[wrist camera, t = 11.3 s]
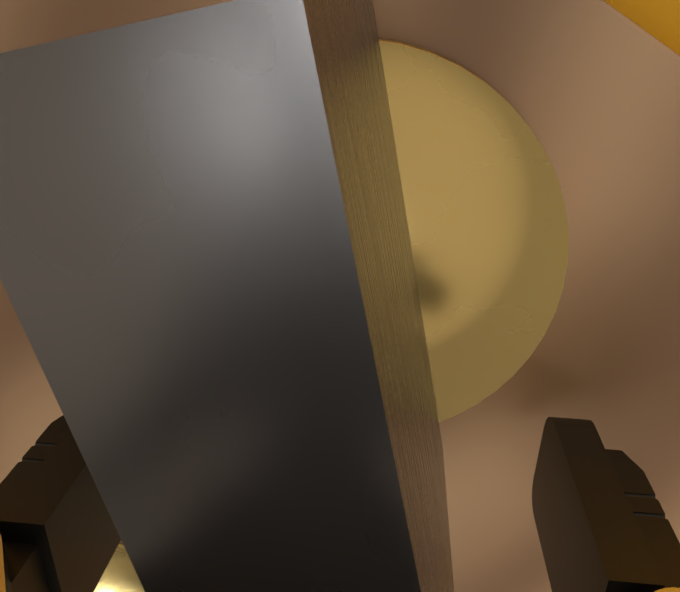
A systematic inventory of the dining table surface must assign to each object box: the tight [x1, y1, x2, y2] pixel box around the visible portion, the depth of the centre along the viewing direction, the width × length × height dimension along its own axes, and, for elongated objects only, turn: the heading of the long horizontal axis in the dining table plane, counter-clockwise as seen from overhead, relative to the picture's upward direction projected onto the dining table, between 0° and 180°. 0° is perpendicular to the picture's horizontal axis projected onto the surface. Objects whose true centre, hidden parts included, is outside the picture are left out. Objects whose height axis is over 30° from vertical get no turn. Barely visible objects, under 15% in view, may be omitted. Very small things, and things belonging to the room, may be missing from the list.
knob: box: [0, 0, 569, 592], centre depth 9 cm, size 9×8×8 cm
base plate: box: [0, 0, 680, 592], centre depth 16 cm, size 22×26×3 cm
